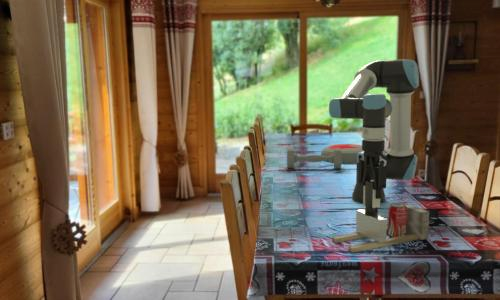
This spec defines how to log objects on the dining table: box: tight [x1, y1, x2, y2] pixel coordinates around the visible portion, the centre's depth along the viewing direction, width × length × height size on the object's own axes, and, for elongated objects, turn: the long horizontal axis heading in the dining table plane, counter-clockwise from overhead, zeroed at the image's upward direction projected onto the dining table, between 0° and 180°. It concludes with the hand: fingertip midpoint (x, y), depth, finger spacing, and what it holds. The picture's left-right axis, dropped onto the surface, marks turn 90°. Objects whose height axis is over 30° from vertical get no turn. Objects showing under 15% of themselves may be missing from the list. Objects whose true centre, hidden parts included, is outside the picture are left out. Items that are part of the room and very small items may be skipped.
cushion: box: [320, 143, 363, 164], centre depth 321 cm, size 37×37×10 cm
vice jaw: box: [355, 180, 388, 243], centre depth 162 cm, size 13×4×20 cm, turn 23°
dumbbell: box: [286, 147, 342, 170], centre depth 290 cm, size 13×33×13 cm, turn 83°
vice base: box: [331, 201, 430, 253], centre depth 164 cm, size 14×32×10 cm, turn 113°
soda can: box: [387, 202, 407, 238], centre depth 167 cm, size 6×6×12 cm
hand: (371, 205), depth 161 cm, fingers closed on vice jaw, 4 cm apart
